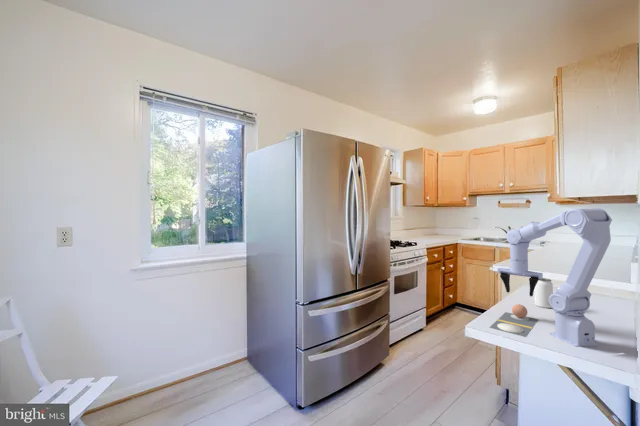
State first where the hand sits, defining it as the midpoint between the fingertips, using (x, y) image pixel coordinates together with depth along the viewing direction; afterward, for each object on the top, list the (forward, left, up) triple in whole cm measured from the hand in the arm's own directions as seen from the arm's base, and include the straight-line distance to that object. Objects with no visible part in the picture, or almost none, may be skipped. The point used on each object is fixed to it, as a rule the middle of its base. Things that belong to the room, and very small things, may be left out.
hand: (519, 293), depth 111 cm
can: (+12, -22, -10) cm, 27 cm away
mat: (-5, +6, -10) cm, 13 cm away
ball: (0, 0, -7) cm, 7 cm away
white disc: (-9, +12, -9) cm, 17 cm away
